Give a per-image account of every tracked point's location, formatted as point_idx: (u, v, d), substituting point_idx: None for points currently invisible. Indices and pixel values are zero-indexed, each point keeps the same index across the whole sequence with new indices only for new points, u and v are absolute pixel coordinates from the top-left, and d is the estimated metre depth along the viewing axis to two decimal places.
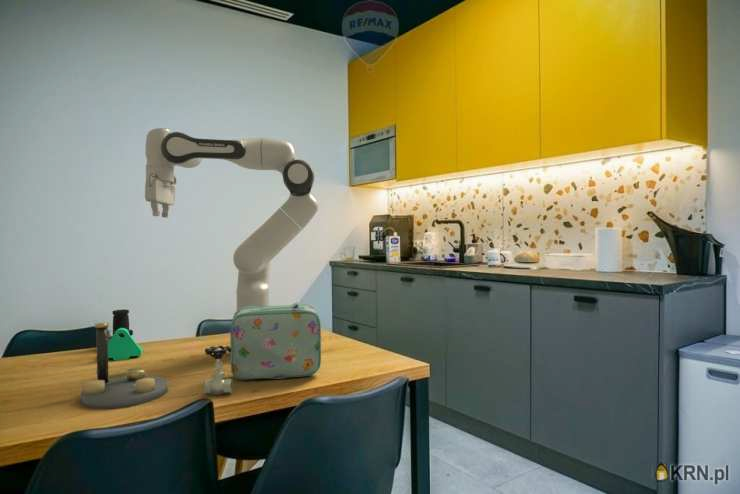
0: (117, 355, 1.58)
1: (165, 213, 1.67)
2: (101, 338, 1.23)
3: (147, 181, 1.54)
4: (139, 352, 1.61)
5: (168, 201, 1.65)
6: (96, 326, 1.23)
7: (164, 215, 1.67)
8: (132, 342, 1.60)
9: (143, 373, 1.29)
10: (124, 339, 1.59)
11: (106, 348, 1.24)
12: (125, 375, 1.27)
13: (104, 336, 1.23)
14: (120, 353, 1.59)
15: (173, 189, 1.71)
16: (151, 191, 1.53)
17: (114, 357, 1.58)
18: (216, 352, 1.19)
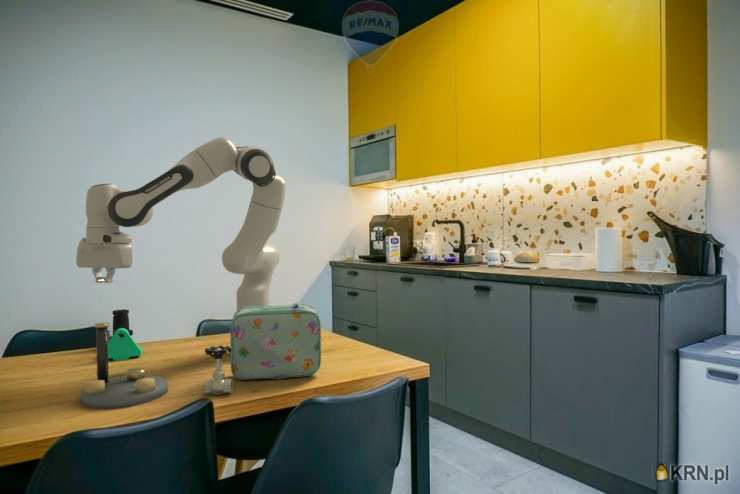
0: (117, 355, 1.58)
1: None
2: (101, 338, 1.23)
3: None
4: (139, 353, 1.60)
5: (103, 265, 1.42)
6: (96, 326, 1.23)
7: None
8: (132, 342, 1.60)
9: (143, 373, 1.29)
10: (124, 339, 1.59)
11: (106, 348, 1.24)
12: (125, 375, 1.27)
13: (104, 336, 1.23)
14: (119, 354, 1.58)
15: (115, 249, 1.39)
16: None
17: (114, 357, 1.58)
18: (216, 352, 1.19)
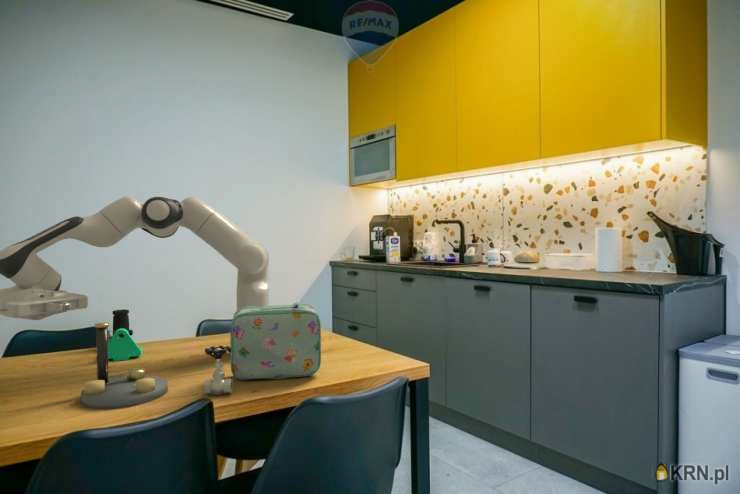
0: (117, 355, 1.58)
1: None
2: (101, 338, 1.23)
3: (5, 313, 1.26)
4: (139, 353, 1.60)
5: (61, 298, 1.34)
6: (96, 326, 1.23)
7: None
8: (132, 342, 1.59)
9: (143, 373, 1.29)
10: (124, 339, 1.58)
11: (106, 348, 1.24)
12: (125, 375, 1.27)
13: (104, 336, 1.23)
14: (119, 354, 1.58)
15: (69, 294, 1.41)
16: (9, 309, 1.24)
17: (114, 358, 1.57)
18: (216, 352, 1.19)
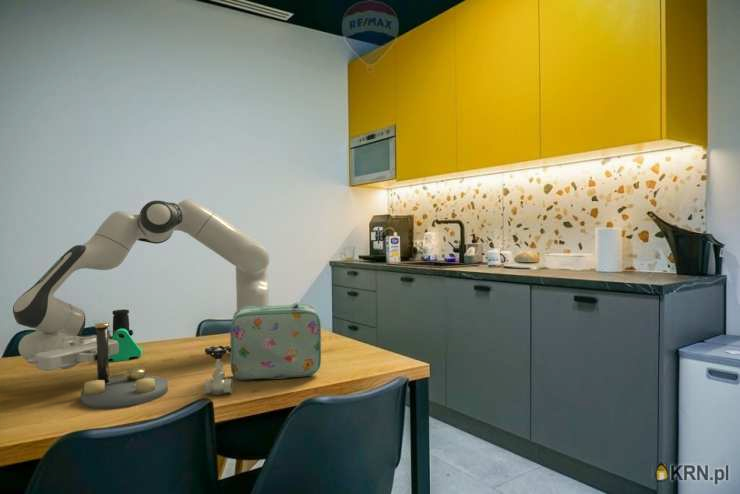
0: (117, 356, 1.57)
1: None
2: (102, 338, 1.23)
3: (35, 365, 1.21)
4: (139, 353, 1.60)
5: (92, 346, 1.28)
6: (96, 326, 1.22)
7: (96, 356, 1.25)
8: (132, 343, 1.59)
9: (143, 373, 1.29)
10: (124, 340, 1.58)
11: (106, 348, 1.24)
12: (125, 375, 1.27)
13: (105, 336, 1.23)
14: (119, 354, 1.57)
15: None
16: (40, 361, 1.18)
17: (114, 358, 1.57)
18: (216, 352, 1.19)
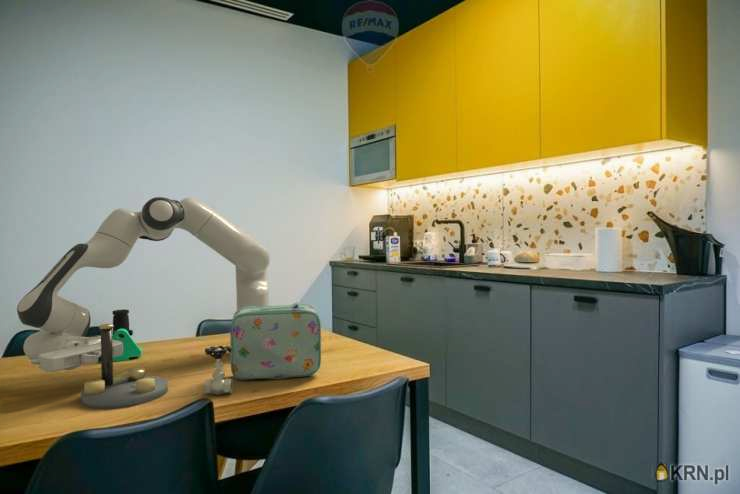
0: (117, 356, 1.57)
1: None
2: (108, 339, 1.21)
3: (38, 365, 1.19)
4: (139, 353, 1.60)
5: (96, 347, 1.27)
6: (102, 327, 1.21)
7: None
8: (132, 343, 1.59)
9: (144, 372, 1.30)
10: (124, 340, 1.58)
11: (112, 349, 1.23)
12: (128, 375, 1.27)
13: (111, 337, 1.22)
14: None
15: None
16: (43, 362, 1.17)
17: (114, 358, 1.57)
18: (216, 352, 1.19)
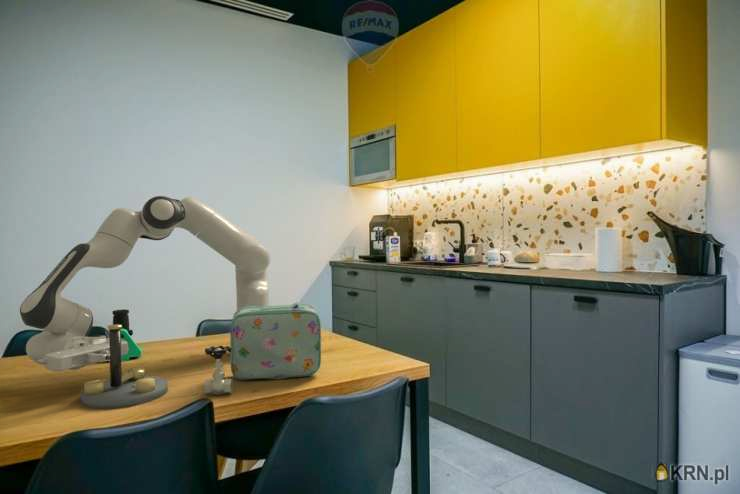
0: None
1: None
2: (118, 339, 1.21)
3: (45, 365, 1.19)
4: (139, 353, 1.60)
5: (102, 346, 1.27)
6: (113, 328, 1.20)
7: None
8: (132, 343, 1.59)
9: None
10: (124, 340, 1.58)
11: None
12: (132, 375, 1.27)
13: (120, 338, 1.22)
14: None
15: (108, 340, 1.34)
16: (50, 362, 1.17)
17: None
18: (216, 352, 1.19)
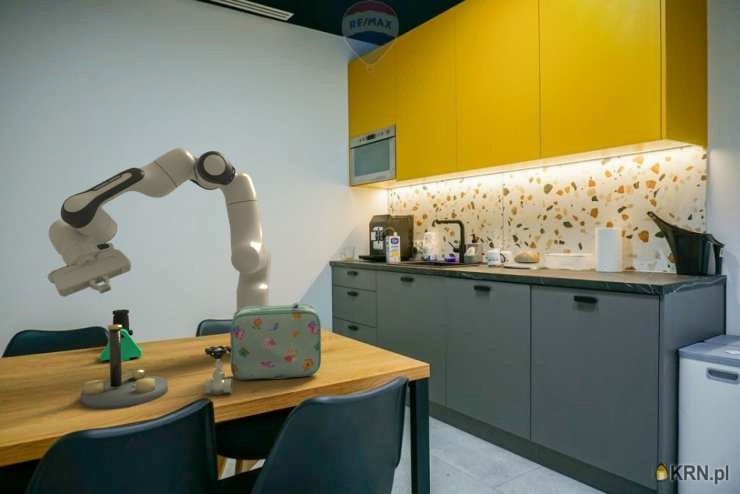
0: None
1: None
2: (118, 339, 1.21)
3: None
4: (139, 354, 1.59)
5: (104, 271, 1.39)
6: (113, 328, 1.20)
7: None
8: (132, 343, 1.58)
9: None
10: (124, 340, 1.57)
11: None
12: (132, 375, 1.27)
13: (120, 338, 1.22)
14: None
15: (115, 253, 1.44)
16: (56, 286, 1.33)
17: None
18: (216, 352, 1.19)
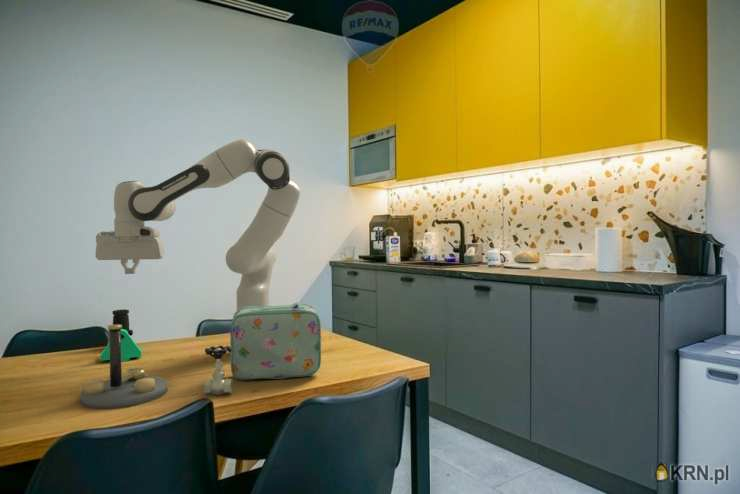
0: None
1: None
2: (118, 339, 1.21)
3: None
4: (139, 354, 1.59)
5: (135, 257, 1.53)
6: (113, 328, 1.20)
7: None
8: (132, 343, 1.58)
9: None
10: (124, 340, 1.57)
11: None
12: (132, 375, 1.27)
13: (120, 338, 1.22)
14: None
15: (152, 242, 1.53)
16: None
17: None
18: (216, 352, 1.19)
